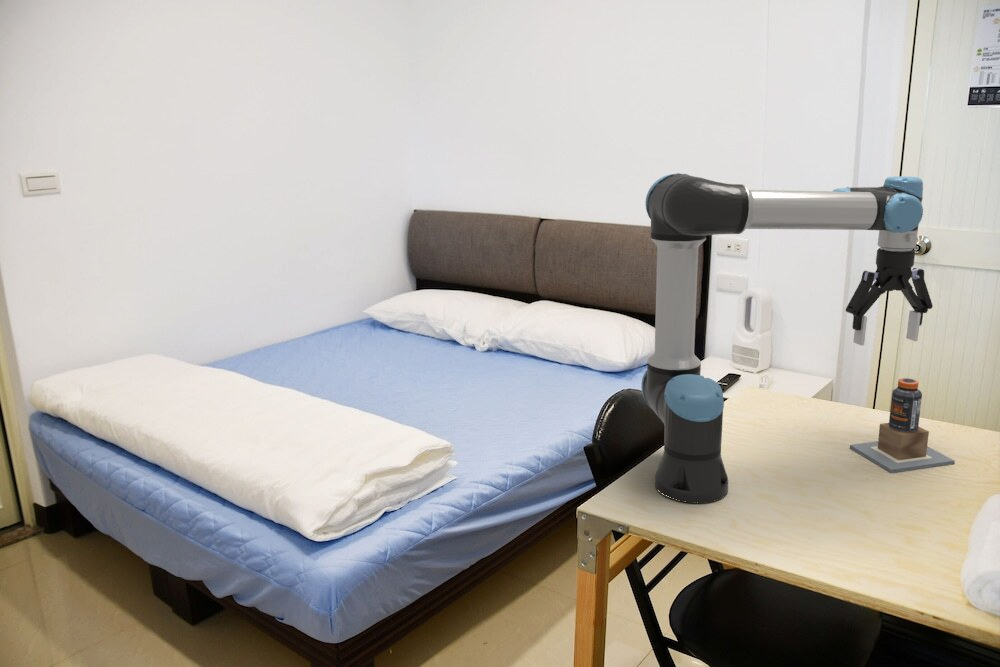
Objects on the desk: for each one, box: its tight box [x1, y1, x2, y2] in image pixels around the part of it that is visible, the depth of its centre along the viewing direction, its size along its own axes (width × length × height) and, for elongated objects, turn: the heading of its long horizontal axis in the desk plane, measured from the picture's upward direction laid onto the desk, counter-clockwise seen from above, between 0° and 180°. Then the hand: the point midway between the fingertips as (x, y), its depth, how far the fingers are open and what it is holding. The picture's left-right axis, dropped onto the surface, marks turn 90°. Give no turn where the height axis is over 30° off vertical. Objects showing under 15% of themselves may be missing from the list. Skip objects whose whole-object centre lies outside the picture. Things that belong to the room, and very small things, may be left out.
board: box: [849, 440, 955, 474], centre depth 177 cm, size 16×14×1 cm
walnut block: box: [877, 422, 930, 460], centre depth 176 cm, size 7×7×6 cm
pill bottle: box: [888, 377, 923, 432], centre depth 174 cm, size 6×6×11 cm
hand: (885, 341), depth 176 cm, fingers open, 13 cm apart
